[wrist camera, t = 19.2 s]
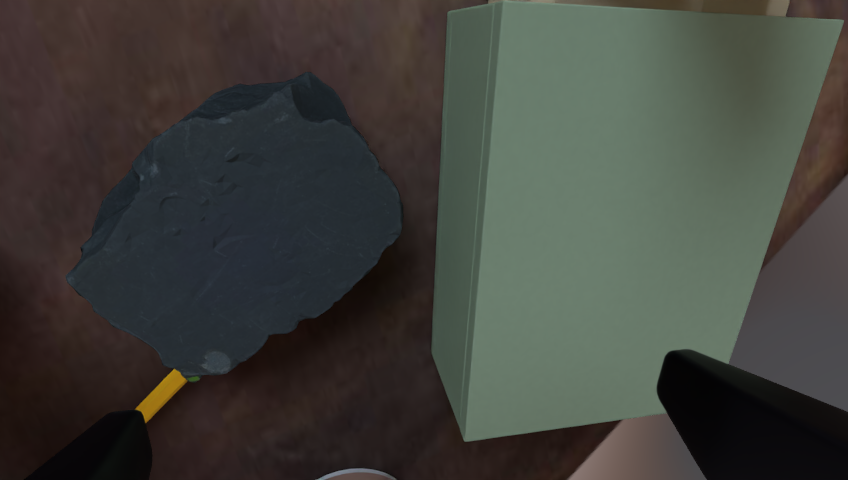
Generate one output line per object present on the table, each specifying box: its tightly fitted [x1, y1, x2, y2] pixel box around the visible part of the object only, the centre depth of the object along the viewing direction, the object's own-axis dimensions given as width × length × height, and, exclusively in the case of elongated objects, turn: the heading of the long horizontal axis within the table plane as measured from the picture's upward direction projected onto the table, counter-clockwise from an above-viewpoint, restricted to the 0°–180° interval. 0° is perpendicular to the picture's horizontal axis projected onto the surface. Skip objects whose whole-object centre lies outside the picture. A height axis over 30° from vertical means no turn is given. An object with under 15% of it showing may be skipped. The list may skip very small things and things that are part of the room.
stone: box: [66, 72, 403, 383], centre depth 18 cm, size 8×12×3 cm
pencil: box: [135, 369, 187, 423], centre depth 21 cm, size 1×19×1 cm, turn 134°
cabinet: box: [431, 0, 844, 442], centre depth 19 cm, size 15×11×6 cm
